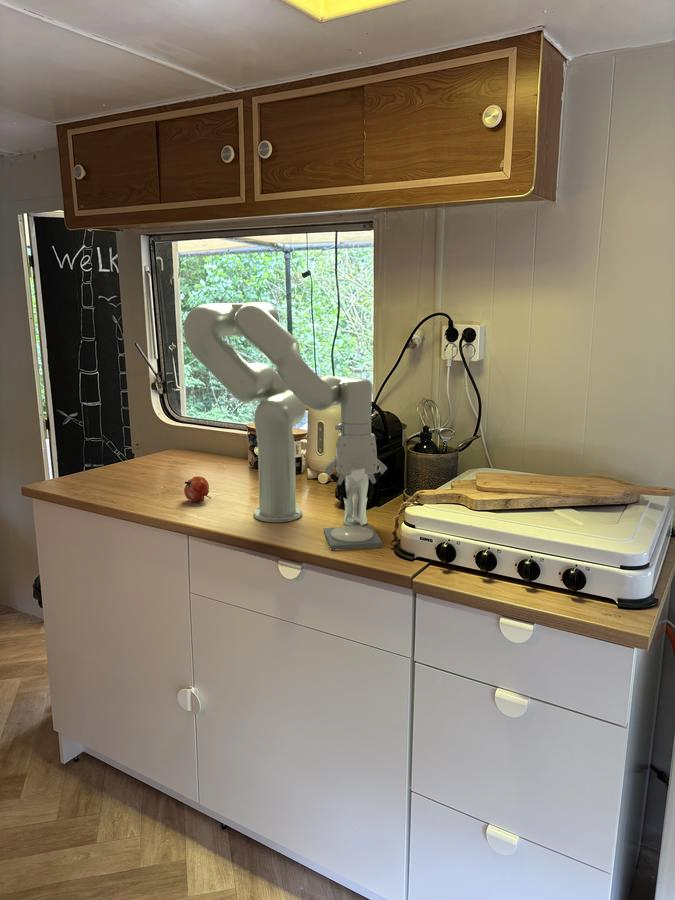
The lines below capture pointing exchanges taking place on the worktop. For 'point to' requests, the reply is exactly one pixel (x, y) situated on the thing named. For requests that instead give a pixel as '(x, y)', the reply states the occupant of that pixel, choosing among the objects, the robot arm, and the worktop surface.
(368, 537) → the coaster board
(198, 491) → the pomegranate
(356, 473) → the beer glass
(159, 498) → the worktop surface
